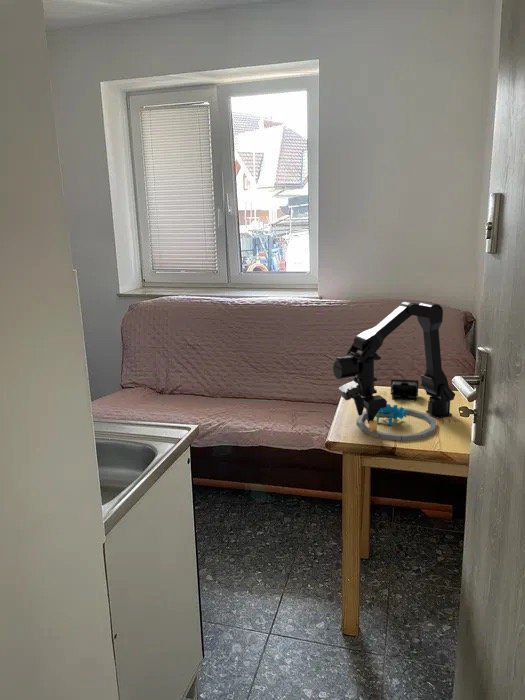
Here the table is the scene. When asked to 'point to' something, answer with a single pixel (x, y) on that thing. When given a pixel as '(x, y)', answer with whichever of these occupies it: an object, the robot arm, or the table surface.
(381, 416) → the blue spiky figure
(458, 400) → the table surface
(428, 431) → the ring
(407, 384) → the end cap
